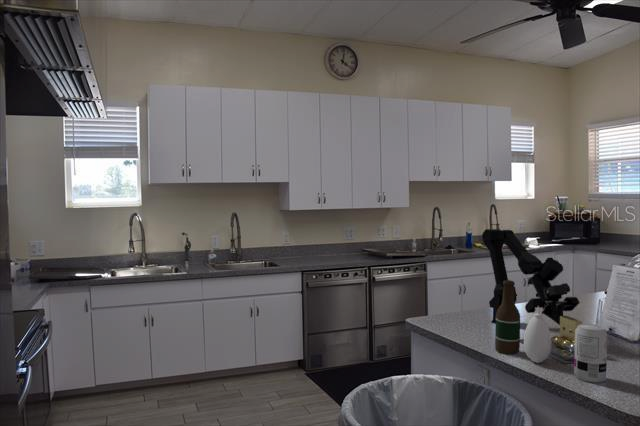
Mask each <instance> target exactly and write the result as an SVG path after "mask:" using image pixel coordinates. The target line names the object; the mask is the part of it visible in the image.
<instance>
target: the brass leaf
mask: <svg viewBox="0 0 640 426" xmlns="http://www.w3.org/2000/svg"><path fill="white" fill-rule="evenodd" d="M579 324H583V321H582V320H579V319H577V318H575V317H572V316H569V315H563V316H560V325H559V335H553V337H552V336H551V338H552V340H551V341H552V344H554V345H556V346H558V347H561V348H563V349H565V350H567V345H568V344H569V343H570V342H573V343H575V329H576V328H577V326H578V325H579Z"/></svg>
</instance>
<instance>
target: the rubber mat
mask: <svg viewBox="0 0 640 426" xmlns="http://www.w3.org/2000/svg"><path fill="white" fill-rule="evenodd" d="M551 340H552V337H551ZM520 344H522V345H524V338H520ZM552 350H565V349H563V348H561V347H558V346H556V345H554V344H552V341H551V350H550V353H549V355H548V357H549V358H551V359H553V360H555V361H557V362H559V363H561V364H563V365H572V364H574V360H573V361H564V360H562V359H560V358H558V357H556V356H554V355H552V354H551V351H552ZM548 357H547V358H548Z"/></svg>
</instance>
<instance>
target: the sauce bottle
mask: <svg viewBox="0 0 640 426" xmlns="http://www.w3.org/2000/svg"><path fill="white" fill-rule="evenodd" d="M543 316H544V314H542V313H540V308H539V306H538V308H537V310H536V313H535V312H534V313H533V317H531V319H530V320H529V321H528V323H527V326H526V328H525V331H524V335H523V339H524V344H523V348H524V351H525V354H526V355H527V357H528V358H529V359H530V360H531V361H533V362H534V363H535V362H536V363H535V364H540V363H543V362H544V361H545V360H547V359H548V355H549V353H550V350H551V338H552V336H551V331H550V328H549V326H548V323H547V322H546V320H545V318H544V317H543Z"/></svg>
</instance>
